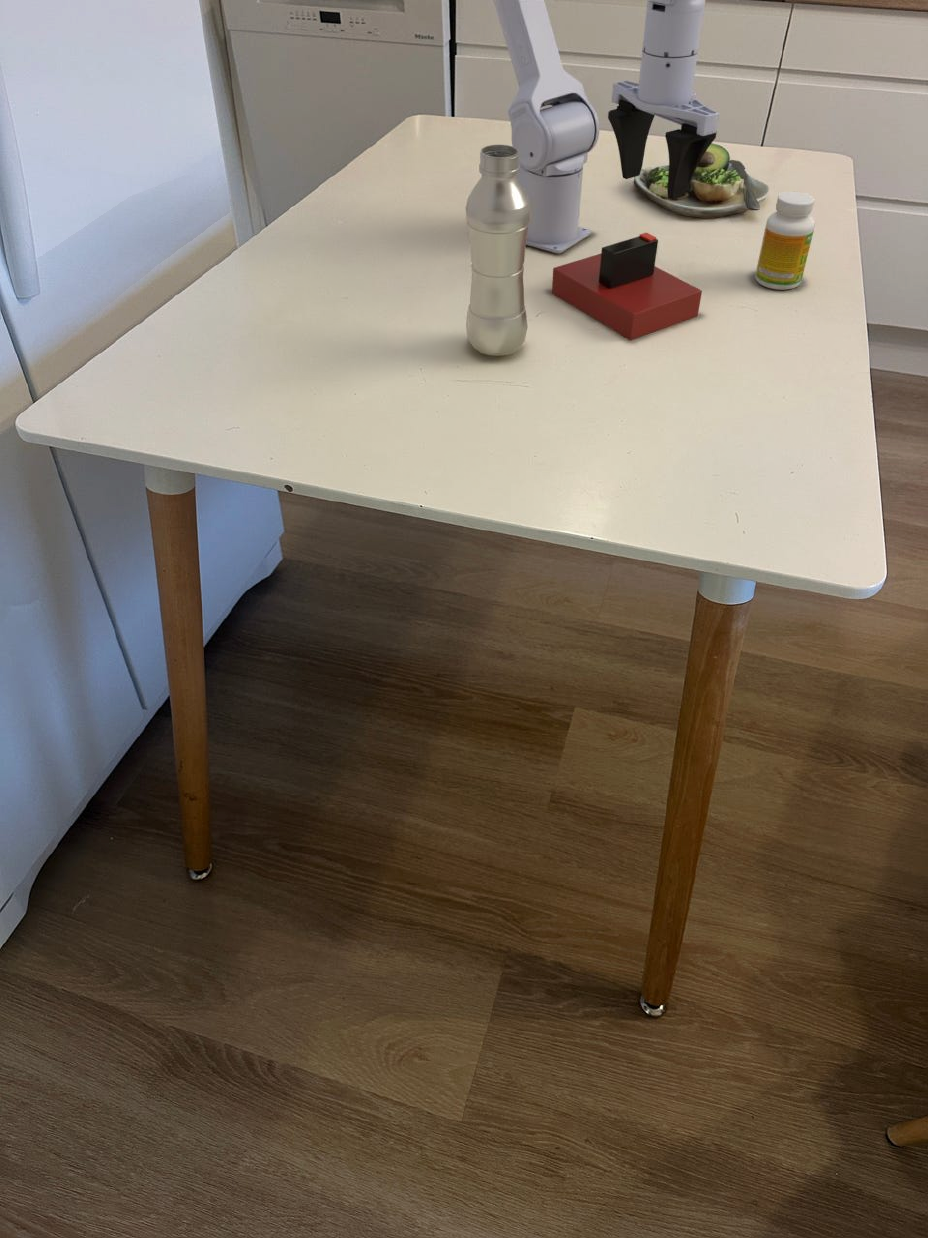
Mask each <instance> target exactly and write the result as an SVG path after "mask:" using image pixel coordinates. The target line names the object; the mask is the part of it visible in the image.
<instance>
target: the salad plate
mask: <svg viewBox="0 0 928 1238" xmlns="http://www.w3.org/2000/svg"><path fill="white" fill-rule="evenodd" d="M668 176H669V164H668V165H667V164H665V165H660V166H651V167H645V168H642V169H641V172H640V175H639V176H636V177H633V184H634V187H635V188H636V189H637V191H638V192H639V193H640V194H641V195H643V196H644V197H645V198H647V199H649V200H651V202H653V203H654V204H656V205H658V206H661V207H662V208H665V209H667V210H670V211H672V212H675V213H677V214H679V215H681V216H685V217H692V218H700V219H714V218H715V219H716V218H721V217H725V216H730V215H734V214H742V213H744V212H746V211H756V212H757V211H759V210H760V209H761V207H760V203H762V202H764V201H765V200H766V199H767V197H768V195H769V193H770V187H769V185H767V184H766V183H765V182H763V181H761V180H759V179H757V178H755V177H752V176H751V175H750V174H748V173H747V171H746V167H745V165H744V164H743V163H742V161H740V160H735V159H731V156H730V154H729V151H728V150H727V149H726V148H725V147H723V146H722V145H719V144H716V143H713V142H712V143H711V145H710V146H709V147H708V149H707V150H706V152H705V153H704V155H703V157H702V158H701V160H700V162H699V164H698V166H697V168H696V170H695V172H694V174H693V177H692V179H691V182H690V184H689V187H688V189H687V192H686V195H685V196H683V197H680V198H676V199H670V198H668V192H667V187H668Z"/></svg>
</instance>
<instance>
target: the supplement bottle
mask: <svg viewBox="0 0 928 1238" xmlns="http://www.w3.org/2000/svg"><path fill="white" fill-rule="evenodd" d="M814 205H815V198H814V196H813V195H811V194H809V193H806V192H801V191H784V192H781V193H779V195H778V196H777V199H776V204H775V212H773V213H771V214H770V215H769V217H767V220H766V223H765V227H764V232H763V236H762V240H761V241H762V242H761V246H760V251H759V256H758V259H757V265H756V270H755V275H754V278H755V279H756V282H757V283H758V284H759V285H761V286H763V287H764V288H765V287H766V288H767V289H771V290H780V291H781V290H782V291H783V290H785V291H786V290H791V289H795V288H797V287H798V286H800V285H801V284H802V280H803V277H804V272H805V268H806V265H807V261H808V260H807V259H808V256H809V252H810V248H811V244H812V240H813V235H814V232H815V228H816V227H815V226H816V222H815V220H814V218H813V216H811V214H812V213H813V208H814Z"/></svg>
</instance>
